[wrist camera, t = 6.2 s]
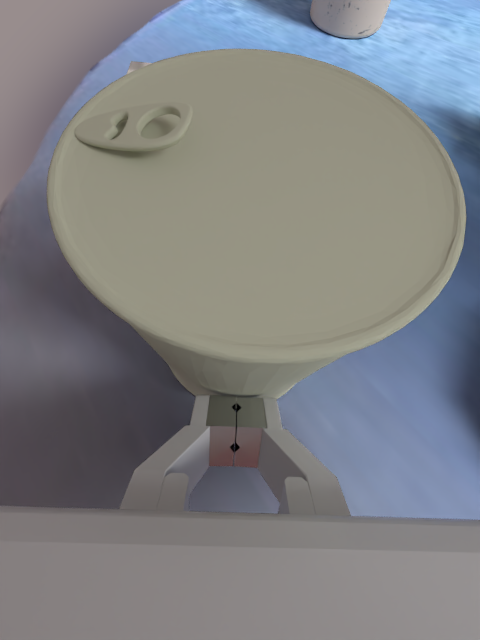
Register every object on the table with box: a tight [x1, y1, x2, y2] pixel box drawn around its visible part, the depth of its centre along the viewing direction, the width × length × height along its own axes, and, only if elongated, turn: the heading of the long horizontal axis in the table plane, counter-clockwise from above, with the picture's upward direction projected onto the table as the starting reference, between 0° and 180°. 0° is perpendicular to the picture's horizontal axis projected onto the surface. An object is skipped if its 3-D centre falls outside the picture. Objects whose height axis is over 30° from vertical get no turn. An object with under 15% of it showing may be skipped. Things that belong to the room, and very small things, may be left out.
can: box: [47, 49, 466, 399], centre depth 11 cm, size 9×9×12 cm
